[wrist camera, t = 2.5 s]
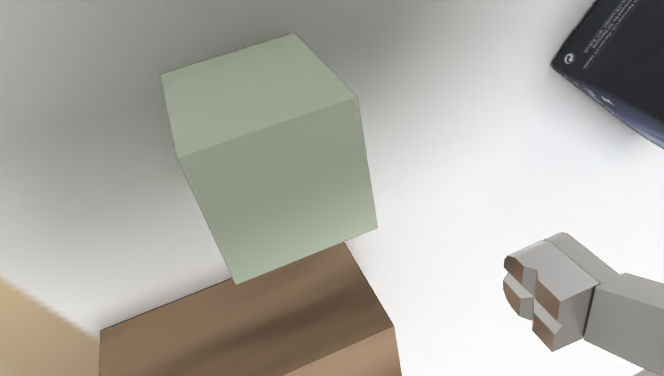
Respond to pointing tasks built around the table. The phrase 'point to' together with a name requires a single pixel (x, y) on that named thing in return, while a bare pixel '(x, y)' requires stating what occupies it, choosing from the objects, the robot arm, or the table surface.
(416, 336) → the table surface
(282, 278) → the walnut block
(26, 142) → the table surface
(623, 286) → the robot arm
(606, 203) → the table surface
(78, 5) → the table surface
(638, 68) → the small box
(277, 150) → the sage block
